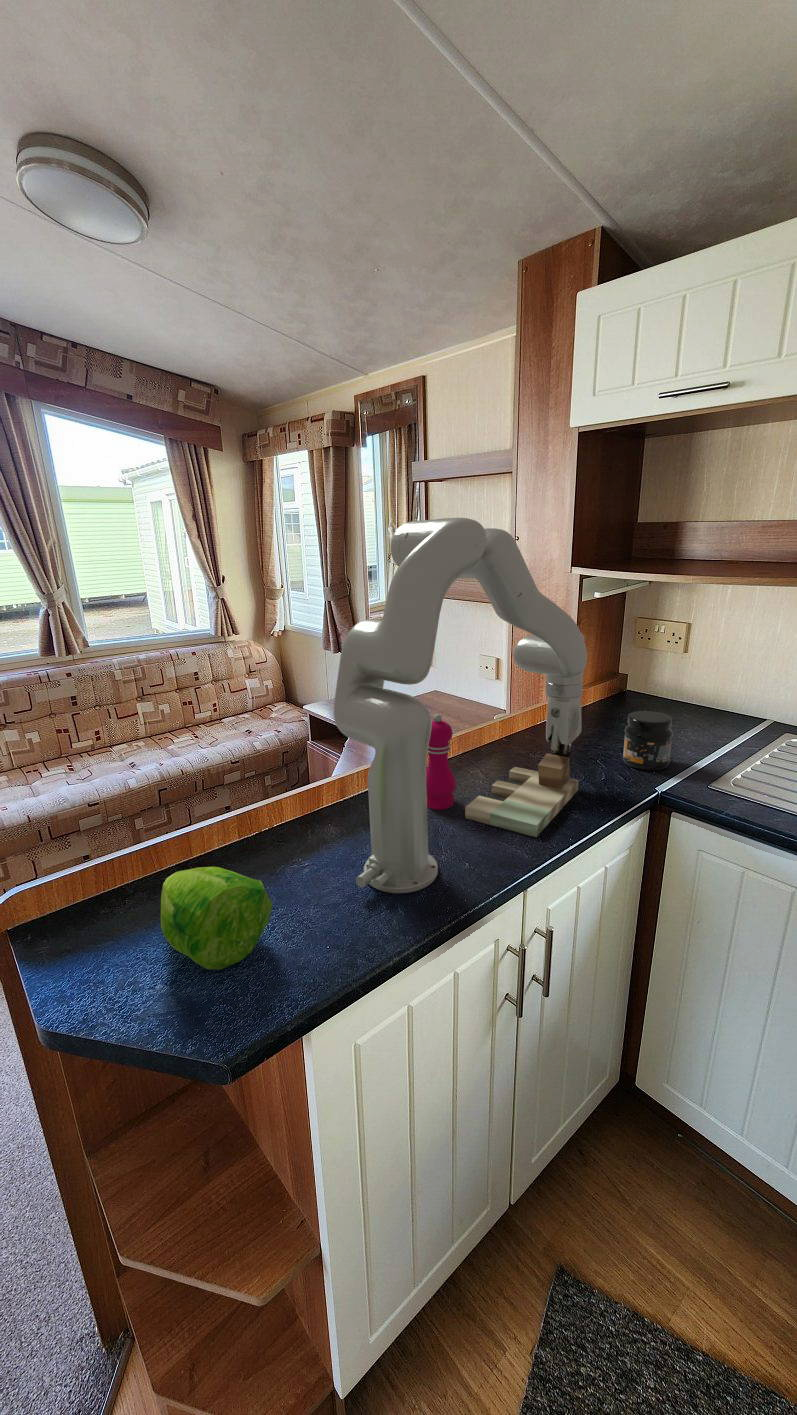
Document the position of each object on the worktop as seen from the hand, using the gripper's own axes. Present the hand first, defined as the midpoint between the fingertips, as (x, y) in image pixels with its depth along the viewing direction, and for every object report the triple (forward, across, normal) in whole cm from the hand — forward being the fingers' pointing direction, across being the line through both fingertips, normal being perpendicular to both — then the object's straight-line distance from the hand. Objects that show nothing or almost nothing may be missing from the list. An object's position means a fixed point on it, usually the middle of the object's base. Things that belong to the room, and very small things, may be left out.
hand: (561, 768), depth 127 cm
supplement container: (+5, +23, -13) cm, 27 cm away
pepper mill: (+4, -21, +19) cm, 29 cm away
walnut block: (+1, -4, 0) cm, 4 cm away
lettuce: (+2, -76, +24) cm, 80 cm away
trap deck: (+4, -12, +4) cm, 13 cm away
